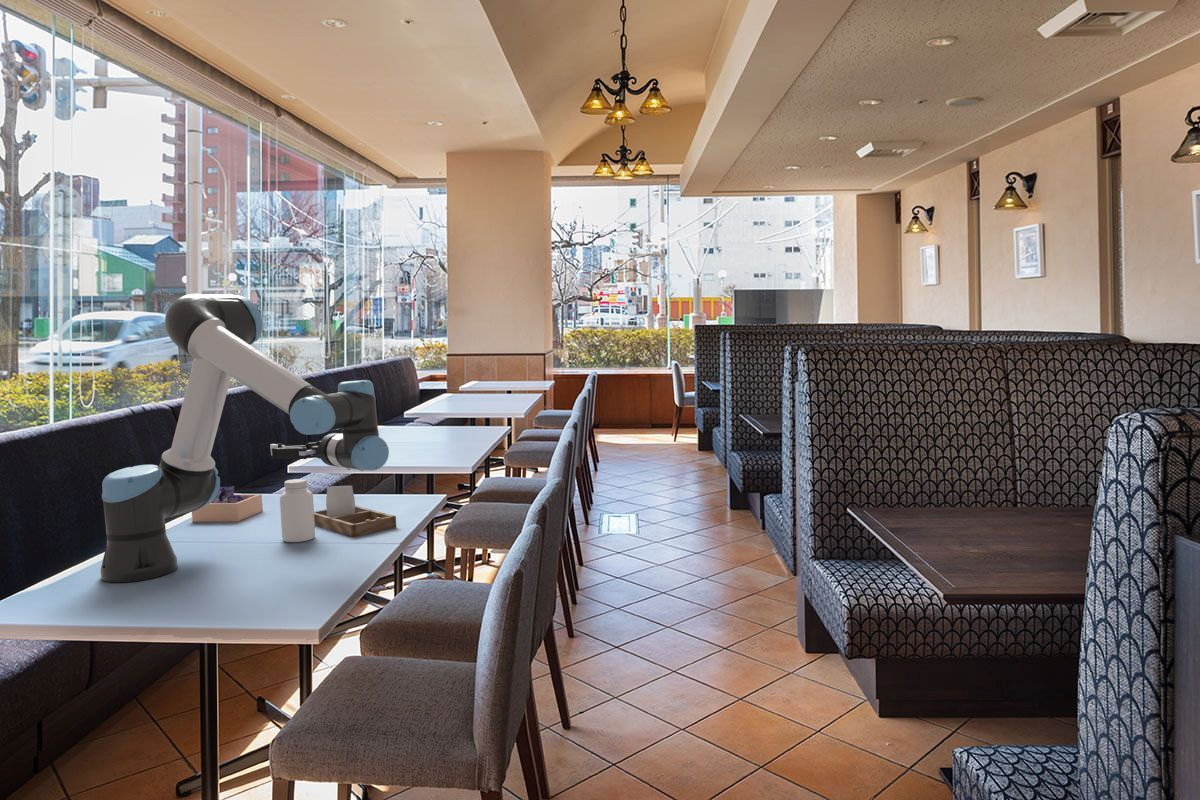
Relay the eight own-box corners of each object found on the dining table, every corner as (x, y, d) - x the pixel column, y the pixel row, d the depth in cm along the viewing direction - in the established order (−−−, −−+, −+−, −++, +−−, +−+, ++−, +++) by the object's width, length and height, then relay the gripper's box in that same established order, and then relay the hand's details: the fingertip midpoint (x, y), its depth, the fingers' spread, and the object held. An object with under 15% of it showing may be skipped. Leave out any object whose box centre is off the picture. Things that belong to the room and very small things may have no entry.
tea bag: (352, 523, 232) (350, 487, 231) (327, 524, 232) (325, 488, 231) (356, 520, 236) (353, 484, 235) (331, 521, 236) (328, 485, 235)
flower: (194, 496, 246) (224, 479, 245) (213, 502, 254) (242, 486, 253) (202, 524, 242) (232, 508, 242) (221, 529, 250) (250, 514, 249)
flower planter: (238, 521, 240) (237, 503, 240) (192, 521, 242) (191, 504, 242) (262, 510, 253) (261, 494, 253) (218, 511, 255) (217, 494, 254)
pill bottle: (316, 540, 215) (312, 481, 214) (282, 544, 212) (278, 485, 211) (314, 533, 222) (310, 476, 221) (282, 537, 219) (277, 479, 218)
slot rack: (396, 527, 226) (395, 514, 225) (353, 537, 217) (352, 523, 217) (351, 514, 243) (350, 503, 243) (309, 523, 234) (308, 511, 234)
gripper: (289, 476, 185) (250, 469, 200) (391, 458, 202) (348, 453, 217) (285, 441, 184) (246, 437, 199) (388, 426, 201) (345, 423, 217)
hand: (299, 445), depth 208 cm, fingers open, 13 cm apart
